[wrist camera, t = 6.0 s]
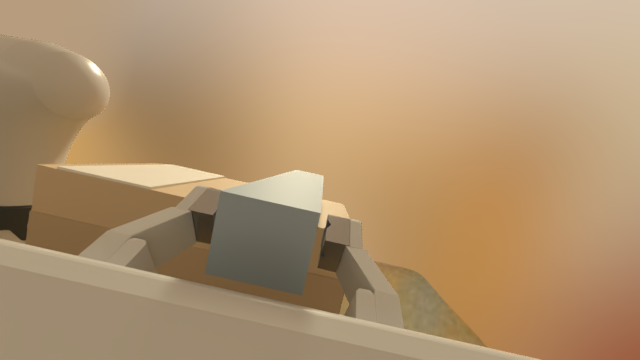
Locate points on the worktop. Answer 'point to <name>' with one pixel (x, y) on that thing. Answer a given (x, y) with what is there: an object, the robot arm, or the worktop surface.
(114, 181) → the carton
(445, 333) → the worktop surface
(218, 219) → the batten
